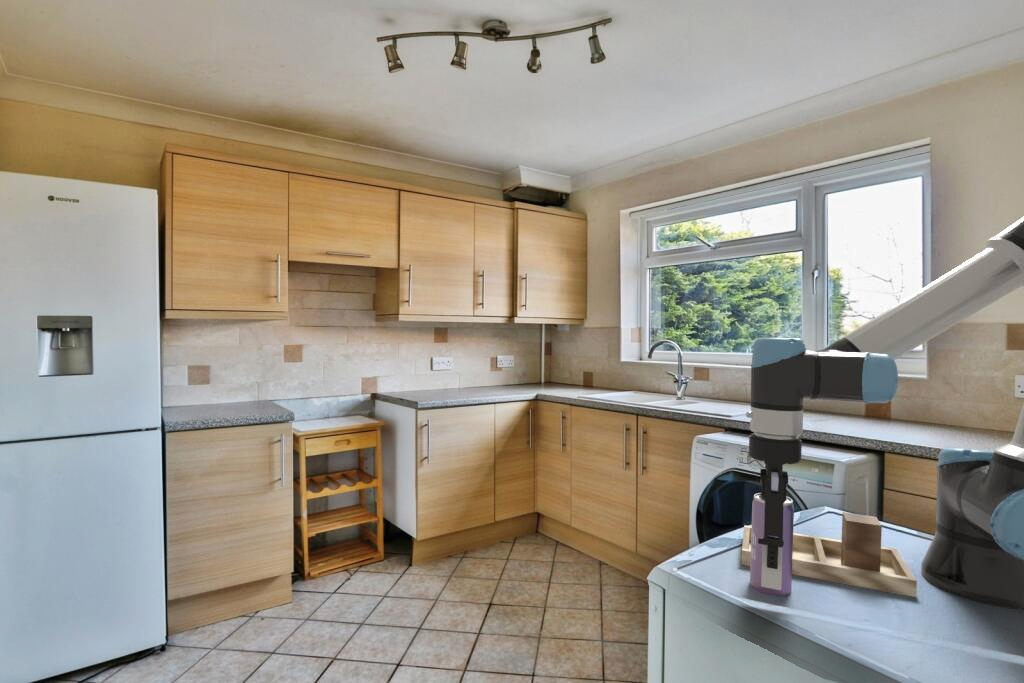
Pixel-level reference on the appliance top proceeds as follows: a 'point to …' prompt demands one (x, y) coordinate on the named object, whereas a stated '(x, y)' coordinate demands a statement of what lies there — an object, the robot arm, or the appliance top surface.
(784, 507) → the beverage can
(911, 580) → the rack
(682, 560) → the appliance top surface
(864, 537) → the walnut block
